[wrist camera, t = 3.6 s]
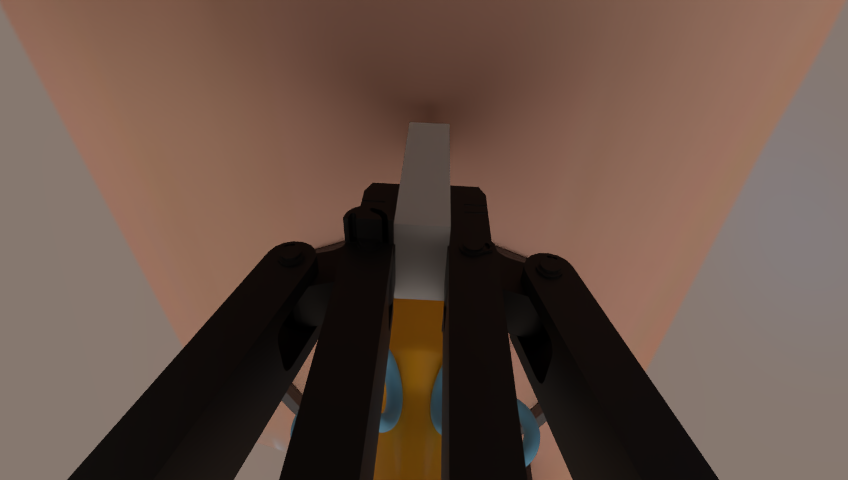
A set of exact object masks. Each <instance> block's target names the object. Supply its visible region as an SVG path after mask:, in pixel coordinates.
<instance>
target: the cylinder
mask: <svg viewBox="0 0 848 480" xmlns="http://www.w3.org/2000/svg"><path fill="white" fill-rule="evenodd" d="M443 308H444V301H437V300H419V299H400V298H394V299H393V320H392V328H391V336H390V345H389V353H388V361H387V370H386V378H385V386H384V395H383V403H382V411H381V420H380V428H379V436H378V445H377V453H376V461H375V470H374V478H373V480H441V441H442V357H443V332H441V331H442V320H443ZM517 404H518V412H519V419H520V423H521V425H522V428H523V432H524V438H523V449H524V457H525V464H526V466H528V465H529V464H530V463H531V461H532V460H533V459H534V457H535V456H536V454H537V451H538V448H539V444H540V431H539V426H538V423H537V421H536V419H535V417H534V415H533V413H532V412H531V411H530V409H529V408H528V407H527V406H526V405H525V404H524V403H522V402H521V401H520V400H518V399H517ZM297 414H298V412H297ZM297 414H296V416H295V418H294V420H293V423H292V426H291V436H292V432H293V428H294V425H295V421H296V418H297Z"/></svg>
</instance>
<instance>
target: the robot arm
mask: <svg viewBox="0 0 848 480" xmlns="http://www.w3.org/2000/svg"><path fill="white" fill-rule="evenodd" d="M343 222H344V234H345V245H344V246H342V247H340V248H338V249H335V250H331V251H327V252H321V253H316V251H315V249H314V248H313V247H312V246H311V245H309V244H307V243H304V242H295V241H293V242H287V243H283V244H280V245H278V246H275V247H274V248H273V249H271V250H270V251H269V252H268V253H267V254H266V255H265V256H264V258H263V259H262V260H261V261H260V262H259V263H258V264H257V265H256V267H255V268H254V269H253V270H252V271H251V272H250V273H249V275H248V276H247V277H246V278H245V279H244V280H243V281H242V282H241V284H240V285H239V286H238V287H237V288H236V289H235V290H234V292H233V293H232V294H231V295H230V296H229V297H228V298H227V299H226V301H225V302H224V303H223V304H222V305H221V306H220V307H219V308H218V310H217V311H216V312H215V313H214V314H213V315H212V316H211V318H210V319H209V320H208V321H207V322H206V323H205V324H204V325H203V327H202V328H201V329H200V330H199V331H198V332H197V333H196V335H195V336H194V337H193V338H192V339H191V340H190V341H189V342H188V344H187V345H186V346H185V347H184V348H183V349H182V350H181V351H180V353H179V354H178V355H177V356H176V357H175V358H174V359H173V361H172V362H171V363H170V364H169V365H168V366H167V367H166V368H165V370H164V371H163V372H162V373H161V374H160V375H159V376H158V378H157V379H156V380H155V381H154V382H153V383H152V384H151V385H150V387H149V388H148V389H147V390H146V391H145V392H144V393H143V395H142V396H141V397H140V398H139V399H138V400H137V401H136V402H135V404H134V405H133V406H132V407H131V408H130V409H129V410H128V411H127V413H126V414H125V415H124V416H123V417H122V418H121V420H120V421H119V422H118V423H117V424H116V425H115V426H114V427H113V428H112V430H111V431H110V432H109V433H108V434H107V435H106V436H105V438H104V439H103V440H102V441H101V442H100V443H99V444H98V445H97V447H96V448H95V449H94V450H93V451H92V452H91V453H90V454H89V456H88V457H87V458H86V459H85V460H84V461H83V462H82V464H81V465H80V466H79V467H78V468H77V469H76V470H75V471H74V473H73V474H72V475H71V476H70V477H69V478H68V480H234V478H235V477H236V475H237V473H238V471H239V470H240V468H241V467H242V465H243V463H244V462H245V460H246V458H247V457H248V455H249V453H250V452H251V450H252V448H253V447H254V445H255V443H256V442H257V440H258V438H259V437H260V435H261V433H262V432H263V430H264V428H265V427H266V425H267V423H268V422H269V420H270V418H271V417H272V415H273V413H274V412H275V410H276V408H277V407H278V405H279V403H280V402H281V400H282V398H283V397H284V395H285V393H286V392H287V390H288V388H289V387H290V385H291V384H292V382H293V380H294V379H295V377H296V375H297V374H298V372H299V370H300V369H301V367H302V365H303V364H304V362H305V360H306V359H307V357H308V355H309V354H310V352H311V350H312V349H313V347H314V345H315V344H316V342H317V340H318V342H317V346H316V349H315V353H314V356H313V360H312V364H311V367H310V371H309V374H308V378H307V382H306V385H305V389H304V392H303V396H302V400H301V403H300V407H299V410H298V414H297V418H296V421H295V425H294V428H293V432H292V436H291V439H290V443H289V446H288V450H287V453H286V457H285V461H284V465H283V468H282V471H281V475H280V479H279V480H373V478H374V470H375V461H376V453H377V445H378V436H379V428H380V420H381V411H382V403H383V395H384V386H385V378H386V370H387V361H388V353H389V345H390V336H391V328H392V320H393V299H394V298H400V299H419V300H437V301H444V308H443V320H442V331H441V332H443V357H442V441H441V480H528V479H527V472H526V464H525V457H524V449H523V442H522V434H521V427H520V419H519V412H518V404H517V397H516V389H515V382H514V374H513V367H512V359H511V352H510V344H509V337H508V333H509V334H510V339H511V341H512V344H513V346H514V348H515V350H516V353H517V355H518V357H519V359H520V362H521V364H522V366H523V368H524V371H525V373H526V375H527V377H528V380H529V382H530V384H531V386H532V389H533V391H534V393H535V395H536V398H537V400H538V402H539V404H540V407H541V409H542V411H543V413H544V416H545V418H546V420H547V423H548V425H549V427H550V429H551V432H552V434H553V436H554V438H555V441H556V443H557V445H558V447H559V450H560V452H561V454H562V456H563V459H564V461H565V463H566V465H567V468H568V470H569V472H570V474H571V477H572V479H573V480H719V479H718V477H717V476H716V474H715V473H714V472H713V470H712V469H711V467H710V466H709V464H708V463H707V461H706V460H705V459H704V457H703V456H702V454H701V453H700V451H699V450H698V448H697V447H696V445H695V444H694V442H693V441H692V440H691V438H690V437H689V435H688V434H687V432H686V431H685V429H684V428H683V427H682V425H681V424H680V422H679V421H678V419H677V418H676V416H675V415H674V413H673V412H672V410H671V409H670V407H669V406H668V405H667V403H666V402H665V400H664V399H663V397H662V396H661V394H660V393H659V392H658V390H657V389H656V387H655V386H654V384H653V383H652V381H651V380H650V378H649V377H648V375H647V374H646V373H645V371H644V370H643V368H642V367H641V365H640V364H639V362H638V361H637V359H636V358H635V357H634V355H633V354H632V352H631V351H630V349H629V348H628V346H627V345H626V343H625V342H624V340H623V339H622V338H621V336H620V335H619V333H618V332H617V330H616V329H615V327H614V326H613V324H612V323H611V322H610V320H609V319H608V317H607V316H606V314H605V313H604V311H603V310H602V308H601V307H600V306H599V304H598V303H597V301H596V300H595V298H594V297H593V295H592V294H591V292H590V291H589V290H588V288H587V287H586V285H585V284H584V282H583V281H582V279H581V278H580V276H579V275H578V273H577V272H576V271H575V269H574V268H573V266H572V265H571V264H570V263H569V262H568V261H567V260H565V259H563V258H561V257H559V256H557V255H553V254H549V253H538V254H534V255H531V256H530V257H529V258H527V259H526V261H525V263H524V262H520V261H516V260H513V259H510V258H508V257H505V256H504V255H502V254H500V253H499V252H498V251H497V249H496V247H495V244H494V243H493V242H492V241H491V234H490V226H489V218H488V210H487V202H486V195H485V194H484V193H483V192H482V191H481V190H480V188H479V187H466V186H450V124H441V123H420V122H409V129H408V135H407V142H406V148H405V155H404V161H403V167H402V174H401V180H400V184H386V183H372V184H371V185H370V186H369V187H368V188H367V189H366V190H365V191H364V195H363V198H362V202H361V206H359V207H355V208H353V209H351V210H349V211H348V212H346V214H345V215H344V217H343Z"/></svg>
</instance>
